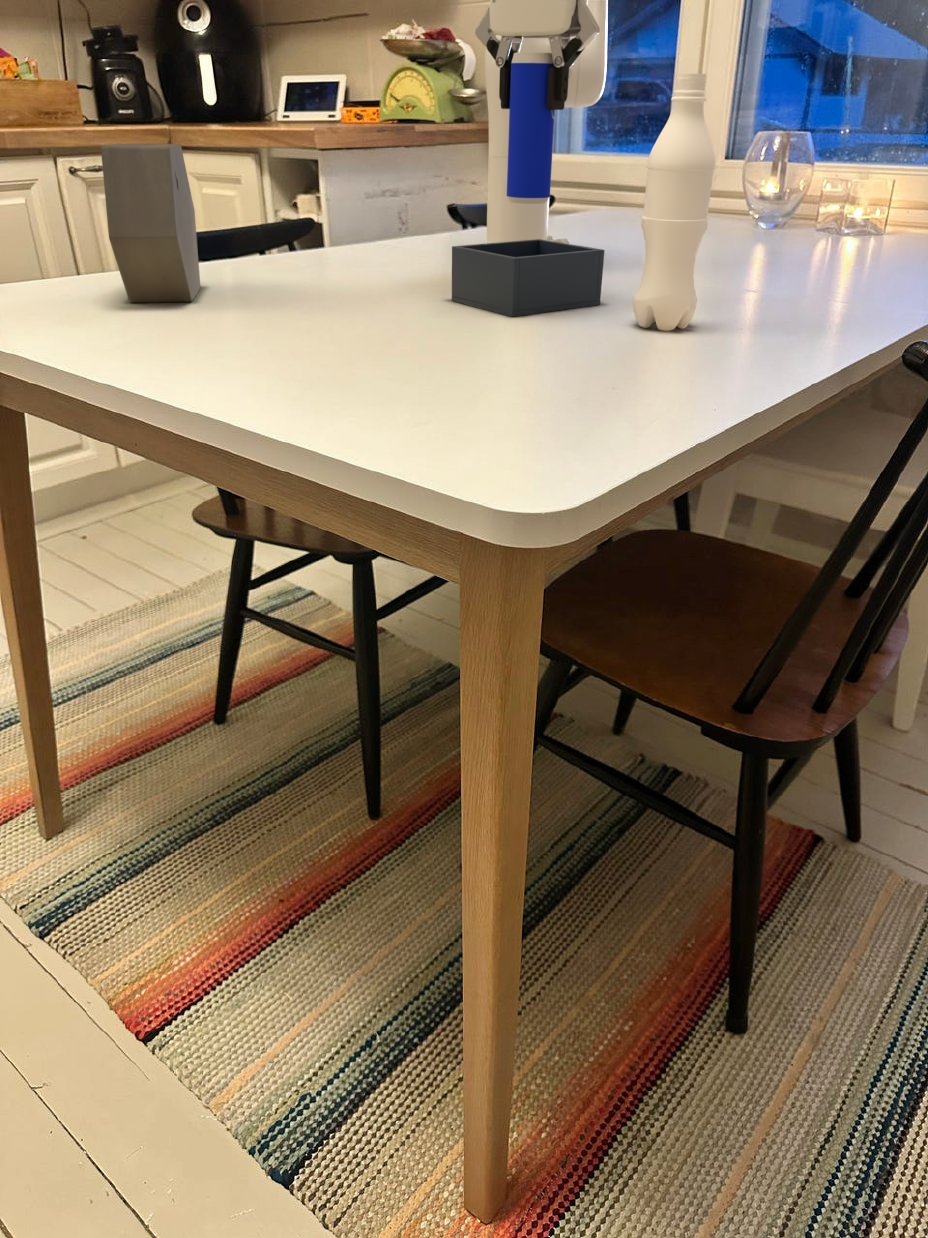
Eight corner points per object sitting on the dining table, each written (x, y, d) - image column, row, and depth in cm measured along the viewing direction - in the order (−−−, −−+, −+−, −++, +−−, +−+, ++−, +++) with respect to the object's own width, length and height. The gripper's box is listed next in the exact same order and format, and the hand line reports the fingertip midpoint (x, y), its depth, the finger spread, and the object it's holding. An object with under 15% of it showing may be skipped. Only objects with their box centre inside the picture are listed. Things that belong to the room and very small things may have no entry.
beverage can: (555, 203, 104) (564, 52, 97) (512, 204, 103) (518, 51, 96) (542, 199, 109) (550, 54, 101) (501, 199, 108) (506, 53, 100)
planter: (145, 244, 124) (105, 100, 105) (201, 243, 125) (172, 101, 107) (139, 334, 116) (95, 196, 98) (199, 333, 117) (167, 196, 99)
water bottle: (687, 320, 106) (719, 75, 94) (699, 333, 100) (735, 73, 87) (626, 319, 106) (651, 74, 94) (635, 332, 100) (662, 72, 88)
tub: (536, 290, 123) (539, 238, 120) (600, 304, 114) (604, 249, 111) (451, 300, 115) (451, 246, 112) (512, 316, 107) (514, 258, 103)
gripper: (632, -95, 91) (614, 110, 100) (488, -82, 98) (484, 107, 108) (602, -107, 85) (586, 110, 94) (452, -93, 93) (451, 107, 102)
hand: (532, 106), depth 101 cm, fingers closed on beverage can, 5 cm apart
